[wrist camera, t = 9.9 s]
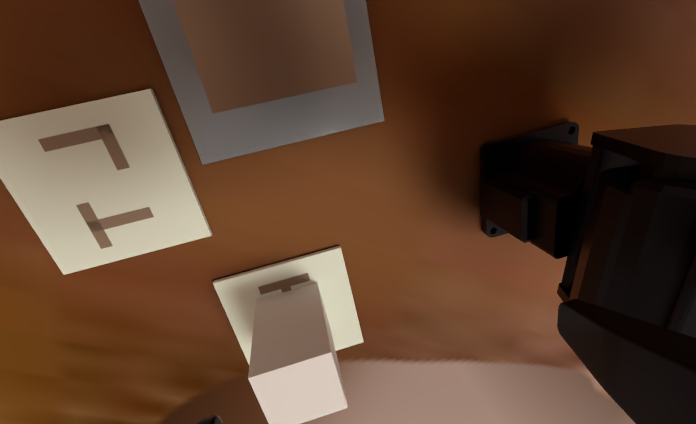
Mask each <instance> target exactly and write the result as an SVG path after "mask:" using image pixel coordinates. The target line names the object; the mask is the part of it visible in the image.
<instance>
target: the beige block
mask: <svg viewBox="0 0 696 424" xmlns="http://www.w3.org/2000/svg"><path fill="white" fill-rule="evenodd" d="M248 379H249V381H250V383H251V386H252V388H253V390H254V392H255V394H256V397H257V399H258V401H259V403H260V405H261V407H262V410H263V412H264V414H265V416H266V418H267V421H268V423H269V424H301V423H304V422H306V421H310V420H313V419H315V418H319V417H321V416H325V415H327V414H331V413H333V412H337V411H339V410H342V409H346V408H348V406H347V401H346V397H345V392H344V388H343V383H342V378H341V374H340V369H339V364H338V360H337V355H336V350H335V346H334V341H333V337H332V332H331V328H330V324H329V321H328V318H327V314H326V311H325V307H324V304H323V300H322V297H321V293H320V290H319V286H318V283H314V284H311V285H307V286H304V287H301V288H297V289H294V290H290V291H287V292H283V293H280V294H276V295H273V296H269V297H266V298H263V299H259V300H256V305H255V315H254V325H253V335H252V345H251V355H250V365H249V375H248Z"/></svg>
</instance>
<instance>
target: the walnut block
mask: <svg viewBox="0 0 696 424" xmlns="http://www.w3.org/2000/svg"><path fill="white" fill-rule="evenodd" d="M173 1H174V4H175V6H176V9H177V12H178V15H179V18H180V21H181V24H182V27H183V29H184V32H185V35H186V38H187V41H188V44H189V47H190V50H191V53H192V55H193V58H194V61H195V64H196V67H197V70H198V73H199V76H200V78H201V81H202V84H203V87H204V90H205V93H206V96H207V99H208V101H209V104H210V107H211V110H212V113H213V114H214V113H218V112H223V111H228V110H232V109H237V108H241V107H246V106H250V105H255V104H260V103H264V102H269V101H273V100H278V99H283V98H287V97H292V96H296V95H301V94H306V93H310V92H315V91H319V90H324V89H329V88H333V87H338V86H342V85H347V84H351V83H356V82H357V78H356V72H355V66H354V60H353V55H352V49H351V43H350V37H349V31H348V25H347V19H346V14H345V8H344V2H343V0H173Z"/></svg>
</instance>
